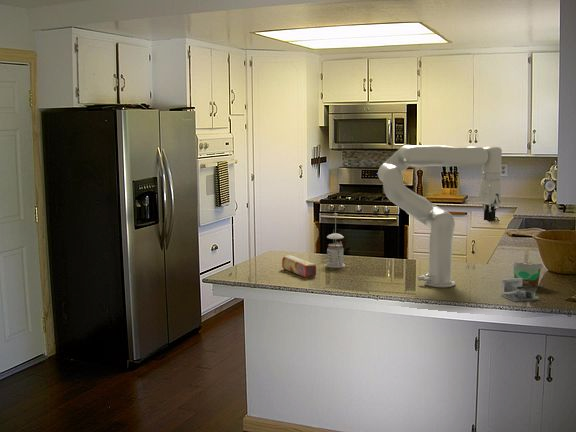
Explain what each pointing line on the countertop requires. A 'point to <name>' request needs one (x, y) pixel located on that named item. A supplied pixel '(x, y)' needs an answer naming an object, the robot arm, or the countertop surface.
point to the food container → (527, 273)
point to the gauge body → (520, 296)
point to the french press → (335, 250)
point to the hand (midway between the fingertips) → (489, 220)
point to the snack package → (299, 266)
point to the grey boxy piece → (514, 285)
